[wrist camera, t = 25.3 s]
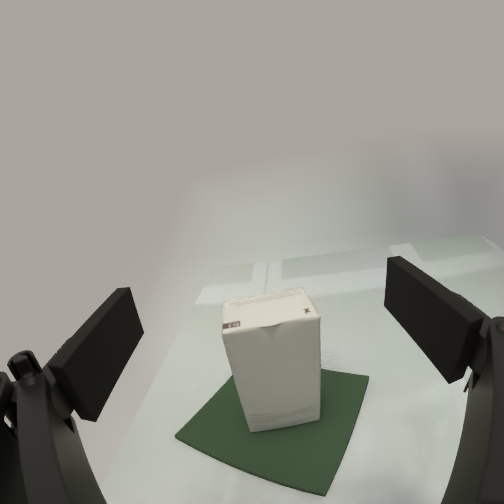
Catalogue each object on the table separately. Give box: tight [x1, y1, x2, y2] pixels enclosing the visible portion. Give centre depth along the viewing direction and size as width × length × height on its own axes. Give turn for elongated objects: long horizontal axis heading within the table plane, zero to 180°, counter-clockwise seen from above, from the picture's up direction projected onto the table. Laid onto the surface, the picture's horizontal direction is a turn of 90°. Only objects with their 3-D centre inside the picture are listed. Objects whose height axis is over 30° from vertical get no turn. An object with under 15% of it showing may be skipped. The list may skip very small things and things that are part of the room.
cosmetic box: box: [222, 287, 321, 432], centre depth 26 cm, size 8×6×15 cm
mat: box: [175, 369, 369, 496], centre depth 28 cm, size 18×18×1 cm
